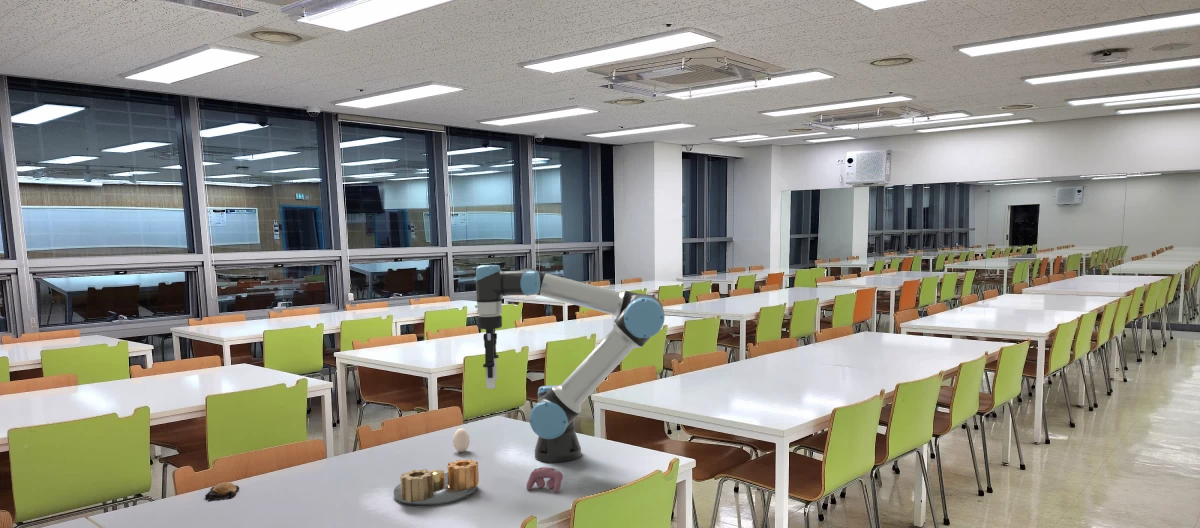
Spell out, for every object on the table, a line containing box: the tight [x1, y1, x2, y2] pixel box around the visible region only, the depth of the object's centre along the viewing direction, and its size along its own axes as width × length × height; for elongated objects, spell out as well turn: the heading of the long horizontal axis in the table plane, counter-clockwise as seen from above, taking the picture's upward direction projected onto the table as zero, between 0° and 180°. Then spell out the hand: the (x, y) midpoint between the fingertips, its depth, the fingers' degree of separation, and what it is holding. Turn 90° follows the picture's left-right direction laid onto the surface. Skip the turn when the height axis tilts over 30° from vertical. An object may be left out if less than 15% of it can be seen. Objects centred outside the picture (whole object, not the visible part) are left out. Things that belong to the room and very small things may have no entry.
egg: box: [452, 428, 471, 453], centre depth 245 cm, size 6×6×8 cm
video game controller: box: [526, 466, 564, 494], centre depth 207 cm, size 10×5×7 cm, turn 72°
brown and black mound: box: [204, 481, 240, 502], centre depth 210 cm, size 11×8×4 cm
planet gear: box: [446, 458, 480, 490], centre depth 208 cm, size 8×8×6 cm
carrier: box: [393, 468, 478, 508], centre depth 207 cm, size 23×23×8 cm
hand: (491, 383), depth 225 cm, fingers open, 13 cm apart
